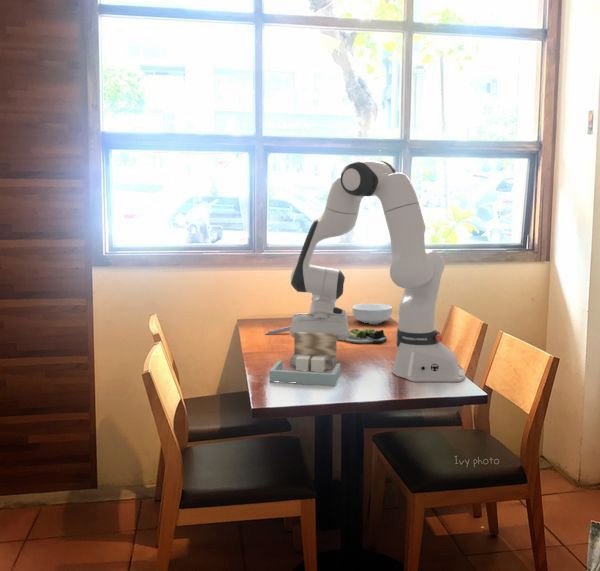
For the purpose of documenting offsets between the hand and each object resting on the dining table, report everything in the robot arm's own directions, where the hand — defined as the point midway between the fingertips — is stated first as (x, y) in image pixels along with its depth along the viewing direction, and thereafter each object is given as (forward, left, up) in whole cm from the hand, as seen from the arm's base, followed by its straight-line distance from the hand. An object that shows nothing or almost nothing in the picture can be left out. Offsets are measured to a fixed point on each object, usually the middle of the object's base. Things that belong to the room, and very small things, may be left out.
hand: (316, 348), depth 218 cm
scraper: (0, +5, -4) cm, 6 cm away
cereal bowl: (-13, -64, -5) cm, 65 cm away
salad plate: (-13, -34, -5) cm, 37 cm away
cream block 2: (-2, +11, -4) cm, 12 cm away
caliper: (+17, -37, -5) cm, 41 cm away
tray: (0, +20, -4) cm, 20 cm away
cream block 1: (+3, +11, -4) cm, 12 cm away
